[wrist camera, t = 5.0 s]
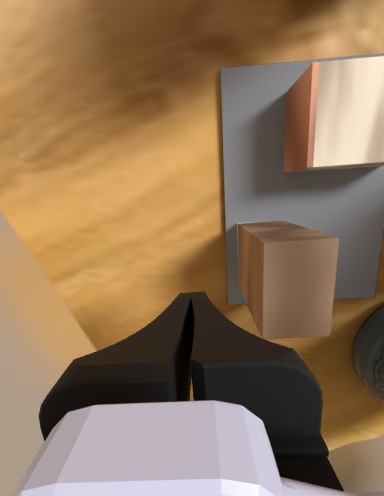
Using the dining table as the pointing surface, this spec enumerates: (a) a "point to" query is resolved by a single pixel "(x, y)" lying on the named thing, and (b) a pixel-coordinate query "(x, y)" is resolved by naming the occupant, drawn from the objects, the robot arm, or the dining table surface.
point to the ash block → (336, 116)
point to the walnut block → (287, 278)
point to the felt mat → (293, 180)
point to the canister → (371, 355)
